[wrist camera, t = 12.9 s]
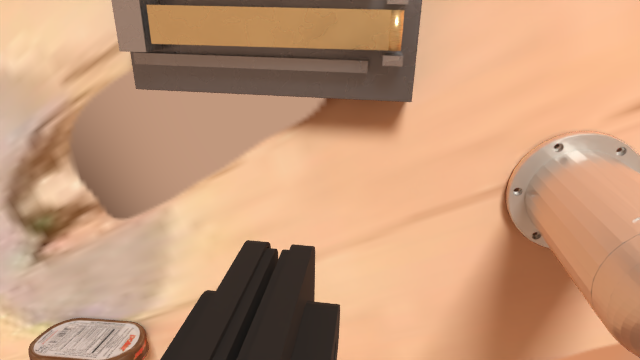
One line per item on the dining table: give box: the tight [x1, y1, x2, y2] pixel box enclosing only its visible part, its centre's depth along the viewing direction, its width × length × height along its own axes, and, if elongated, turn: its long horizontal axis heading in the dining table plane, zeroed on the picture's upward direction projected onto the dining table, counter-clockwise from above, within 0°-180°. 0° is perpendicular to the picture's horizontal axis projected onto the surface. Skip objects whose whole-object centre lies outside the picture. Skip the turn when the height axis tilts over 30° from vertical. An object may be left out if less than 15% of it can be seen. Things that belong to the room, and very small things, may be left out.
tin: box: [29, 318, 149, 360], centre depth 54 cm, size 15×3×8 cm, turn 92°
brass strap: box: [147, 5, 405, 51], centre depth 34 cm, size 21×3×1 cm, turn 89°
